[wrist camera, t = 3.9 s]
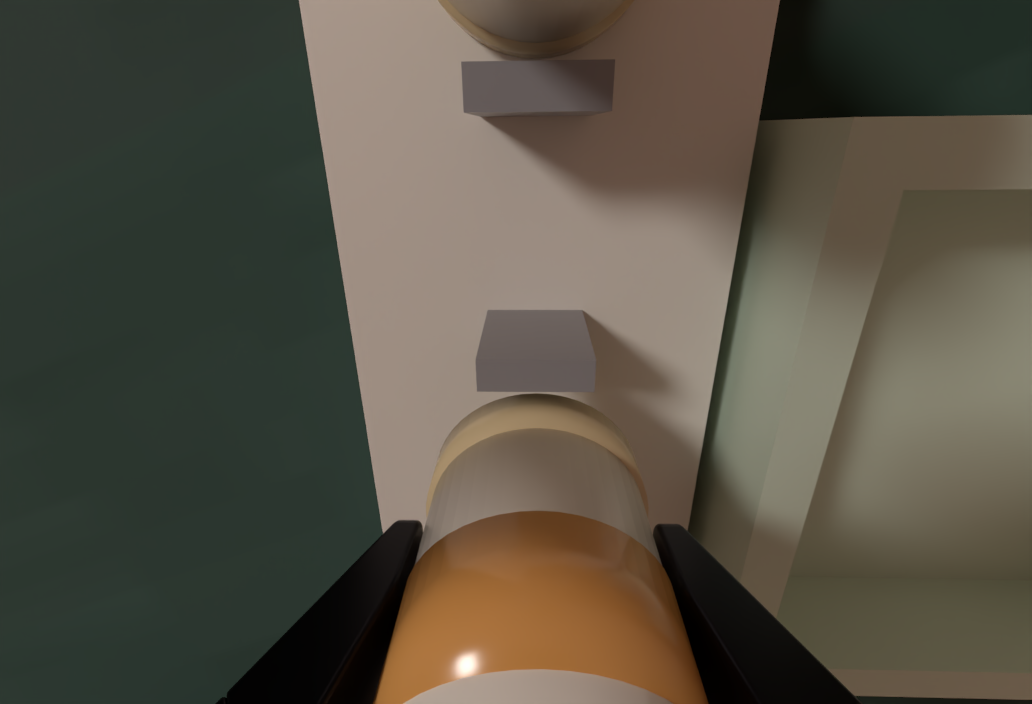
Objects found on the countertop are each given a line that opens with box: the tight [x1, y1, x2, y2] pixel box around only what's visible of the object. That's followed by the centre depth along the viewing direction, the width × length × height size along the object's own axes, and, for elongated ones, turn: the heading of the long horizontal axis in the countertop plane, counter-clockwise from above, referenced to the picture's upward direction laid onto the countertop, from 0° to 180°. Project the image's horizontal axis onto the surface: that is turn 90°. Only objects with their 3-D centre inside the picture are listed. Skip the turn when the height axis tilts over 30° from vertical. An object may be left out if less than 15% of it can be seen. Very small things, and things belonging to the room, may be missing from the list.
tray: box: [688, 115, 1032, 700], centre depth 11 cm, size 13×12×4 cm
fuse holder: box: [299, 0, 780, 534], centre depth 11 cm, size 26×8×4 cm, turn 1°
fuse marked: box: [373, 393, 709, 704], centre depth 6 cm, size 4×4×8 cm
